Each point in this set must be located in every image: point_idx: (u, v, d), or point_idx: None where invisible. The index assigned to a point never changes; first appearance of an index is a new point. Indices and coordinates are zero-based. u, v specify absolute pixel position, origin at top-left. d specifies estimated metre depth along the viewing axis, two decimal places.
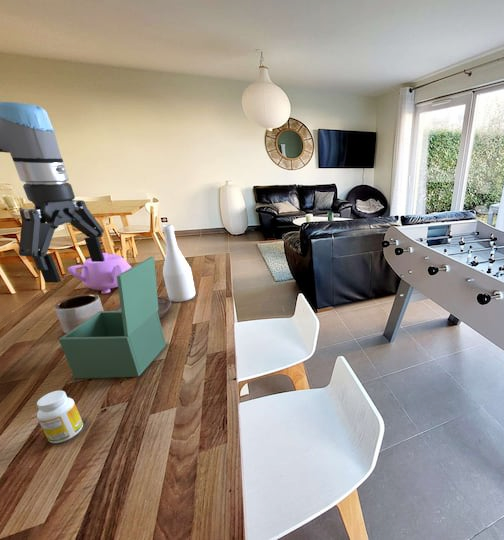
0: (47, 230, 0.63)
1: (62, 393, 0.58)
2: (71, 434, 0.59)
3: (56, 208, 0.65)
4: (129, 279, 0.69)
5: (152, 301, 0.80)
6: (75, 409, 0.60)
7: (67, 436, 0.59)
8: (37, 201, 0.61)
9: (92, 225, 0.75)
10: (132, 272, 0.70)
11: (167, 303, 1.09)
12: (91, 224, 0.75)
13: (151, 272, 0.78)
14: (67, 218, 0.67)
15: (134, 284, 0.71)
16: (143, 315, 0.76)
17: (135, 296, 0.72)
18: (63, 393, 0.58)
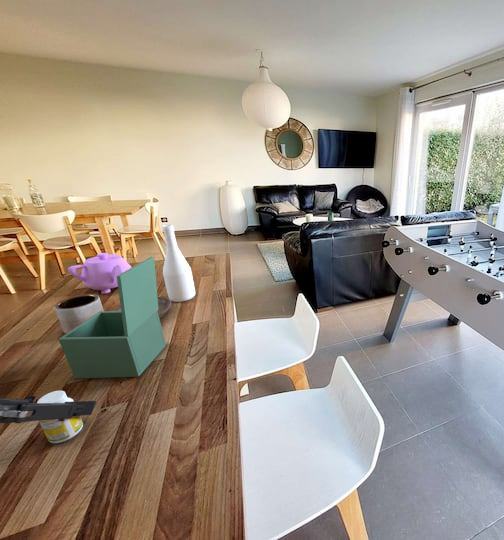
0: None
1: (62, 393, 0.58)
2: (71, 434, 0.59)
3: None
4: (129, 279, 0.69)
5: (152, 301, 0.80)
6: None
7: (67, 436, 0.59)
8: None
9: None
10: (132, 272, 0.70)
11: (167, 303, 1.09)
12: None
13: (151, 272, 0.78)
14: None
15: (134, 284, 0.71)
16: (143, 315, 0.76)
17: (135, 296, 0.72)
18: (63, 393, 0.58)
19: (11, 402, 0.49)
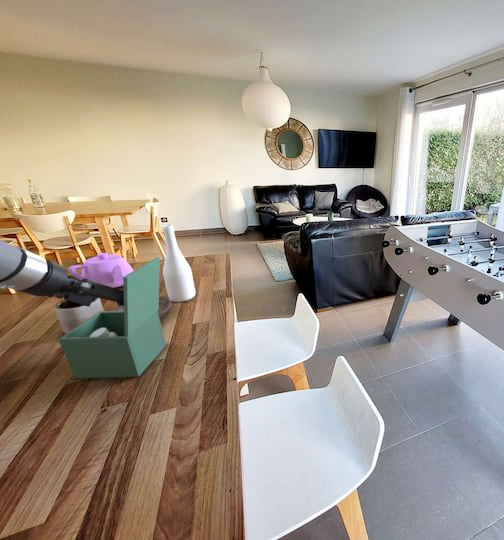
0: None
1: (104, 329, 0.76)
2: None
3: None
4: (135, 280, 0.69)
5: (153, 301, 0.80)
6: None
7: None
8: None
9: None
10: (138, 273, 0.70)
11: (167, 303, 1.09)
12: None
13: (155, 273, 0.78)
14: None
15: (138, 285, 0.71)
16: (143, 316, 0.77)
17: (138, 297, 0.72)
18: (104, 329, 0.76)
19: (78, 280, 0.65)
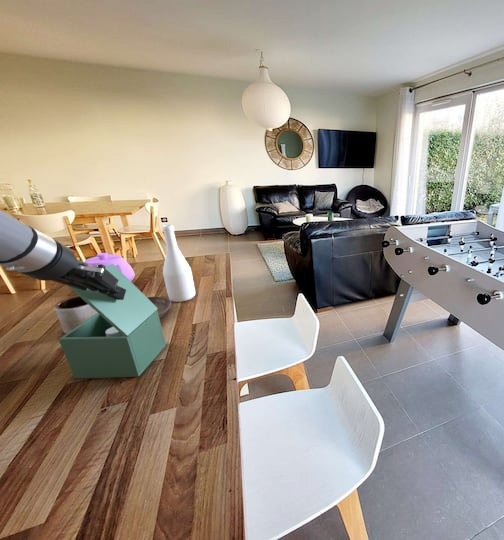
0: None
1: None
2: None
3: None
4: None
5: (142, 302, 0.80)
6: None
7: None
8: None
9: None
10: None
11: (167, 303, 1.09)
12: None
13: (119, 277, 0.77)
14: None
15: None
16: (137, 316, 0.76)
17: (110, 300, 0.72)
18: None
19: None
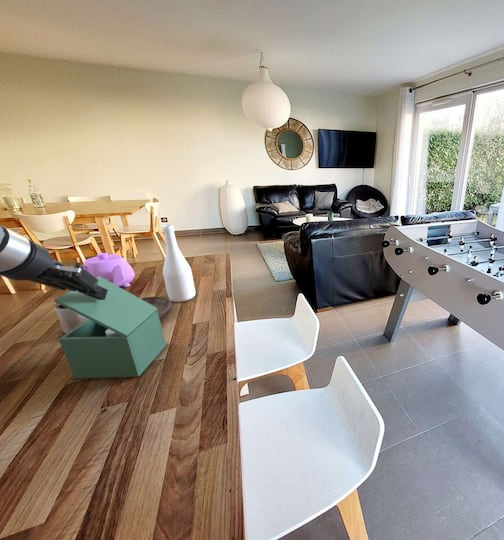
0: None
1: None
2: None
3: None
4: (74, 297, 0.69)
5: (138, 304, 0.80)
6: None
7: None
8: None
9: None
10: (73, 292, 0.70)
11: (167, 303, 1.09)
12: None
13: (108, 286, 0.78)
14: None
15: (88, 300, 0.71)
16: (134, 317, 0.76)
17: (102, 307, 0.72)
18: None
19: None
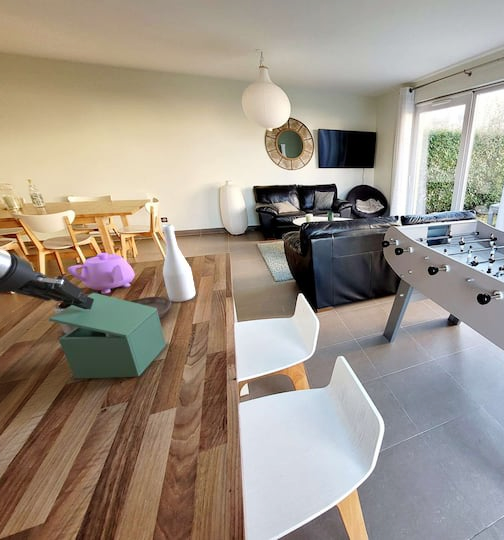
0: None
1: None
2: None
3: None
4: (69, 314, 0.71)
5: (136, 308, 0.80)
6: None
7: None
8: None
9: None
10: (68, 309, 0.72)
11: (167, 303, 1.09)
12: None
13: (104, 299, 0.79)
14: None
15: (83, 313, 0.72)
16: (133, 319, 0.77)
17: (98, 316, 0.73)
18: None
19: None
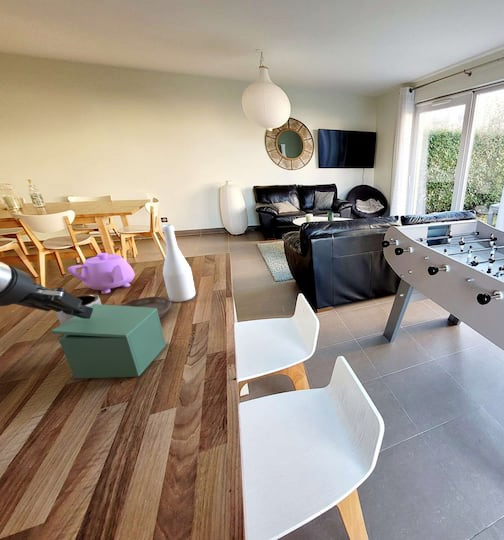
0: None
1: None
2: None
3: None
4: (70, 324, 0.72)
5: (136, 311, 0.81)
6: None
7: None
8: None
9: None
10: (69, 321, 0.73)
11: (167, 303, 1.09)
12: None
13: (104, 308, 0.80)
14: None
15: (84, 322, 0.73)
16: (133, 320, 0.77)
17: (98, 323, 0.74)
18: None
19: None
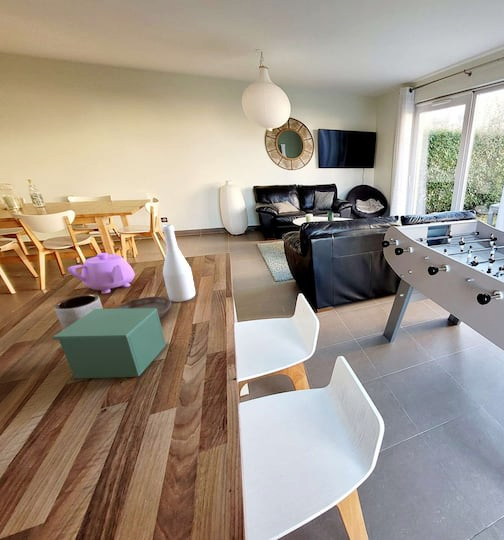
0: None
1: None
2: None
3: None
4: (71, 329, 0.72)
5: (136, 312, 0.81)
6: None
7: None
8: None
9: None
10: (70, 326, 0.73)
11: (167, 303, 1.09)
12: None
13: (105, 311, 0.81)
14: None
15: (85, 326, 0.74)
16: (133, 321, 0.77)
17: (99, 326, 0.74)
18: None
19: None
